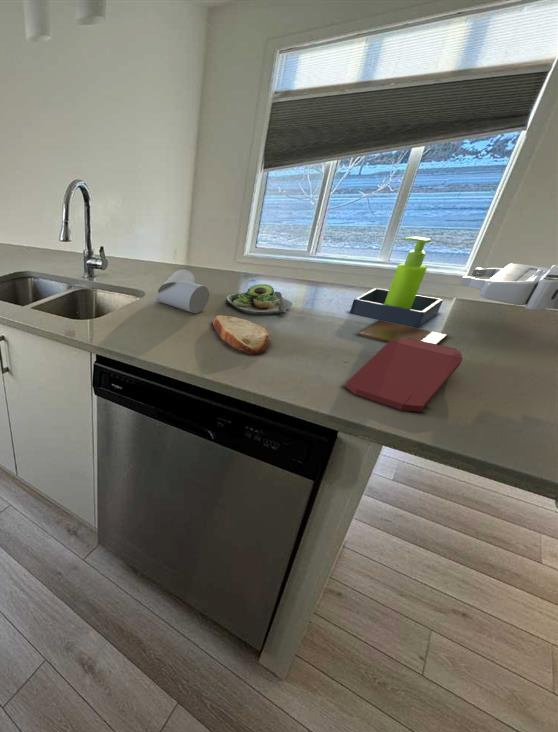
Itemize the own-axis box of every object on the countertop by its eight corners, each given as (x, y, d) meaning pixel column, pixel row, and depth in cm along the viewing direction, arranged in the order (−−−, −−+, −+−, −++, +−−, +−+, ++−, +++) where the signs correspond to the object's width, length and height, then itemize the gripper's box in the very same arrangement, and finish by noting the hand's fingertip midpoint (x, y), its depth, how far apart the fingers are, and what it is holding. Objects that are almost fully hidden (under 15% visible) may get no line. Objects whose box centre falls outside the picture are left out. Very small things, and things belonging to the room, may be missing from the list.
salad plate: (310, 314, 115) (314, 299, 112) (249, 321, 114) (252, 305, 112) (272, 294, 132) (275, 280, 129) (219, 300, 131) (221, 286, 129)
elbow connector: (138, 298, 135) (183, 314, 120) (144, 266, 131) (192, 278, 116) (174, 297, 144) (221, 312, 129) (181, 267, 140) (230, 279, 124)
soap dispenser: (387, 307, 115) (414, 234, 105) (413, 314, 109) (444, 238, 99) (372, 311, 113) (397, 237, 103) (397, 319, 108) (427, 241, 98)
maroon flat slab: (410, 429, 74) (462, 367, 84) (419, 409, 72) (471, 347, 81) (338, 403, 83) (393, 349, 93) (343, 384, 80) (399, 331, 90)
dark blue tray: (437, 313, 109) (443, 299, 107) (418, 327, 102) (424, 312, 100) (370, 300, 120) (375, 287, 118) (349, 312, 114) (353, 299, 112)
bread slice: (218, 319, 117) (220, 307, 116) (285, 333, 106) (288, 319, 104) (188, 340, 107) (189, 327, 105) (258, 358, 95) (261, 343, 94)
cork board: (446, 337, 97) (447, 334, 97) (427, 352, 91) (428, 350, 91) (378, 322, 107) (379, 319, 107) (358, 335, 102) (358, 332, 101)
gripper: (571, 262, 90) (486, 253, 100) (550, 283, 80) (459, 271, 90) (555, 289, 93) (475, 279, 103) (533, 312, 83) (447, 298, 93)
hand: (467, 275), depth 96 cm, fingers open, 8 cm apart
